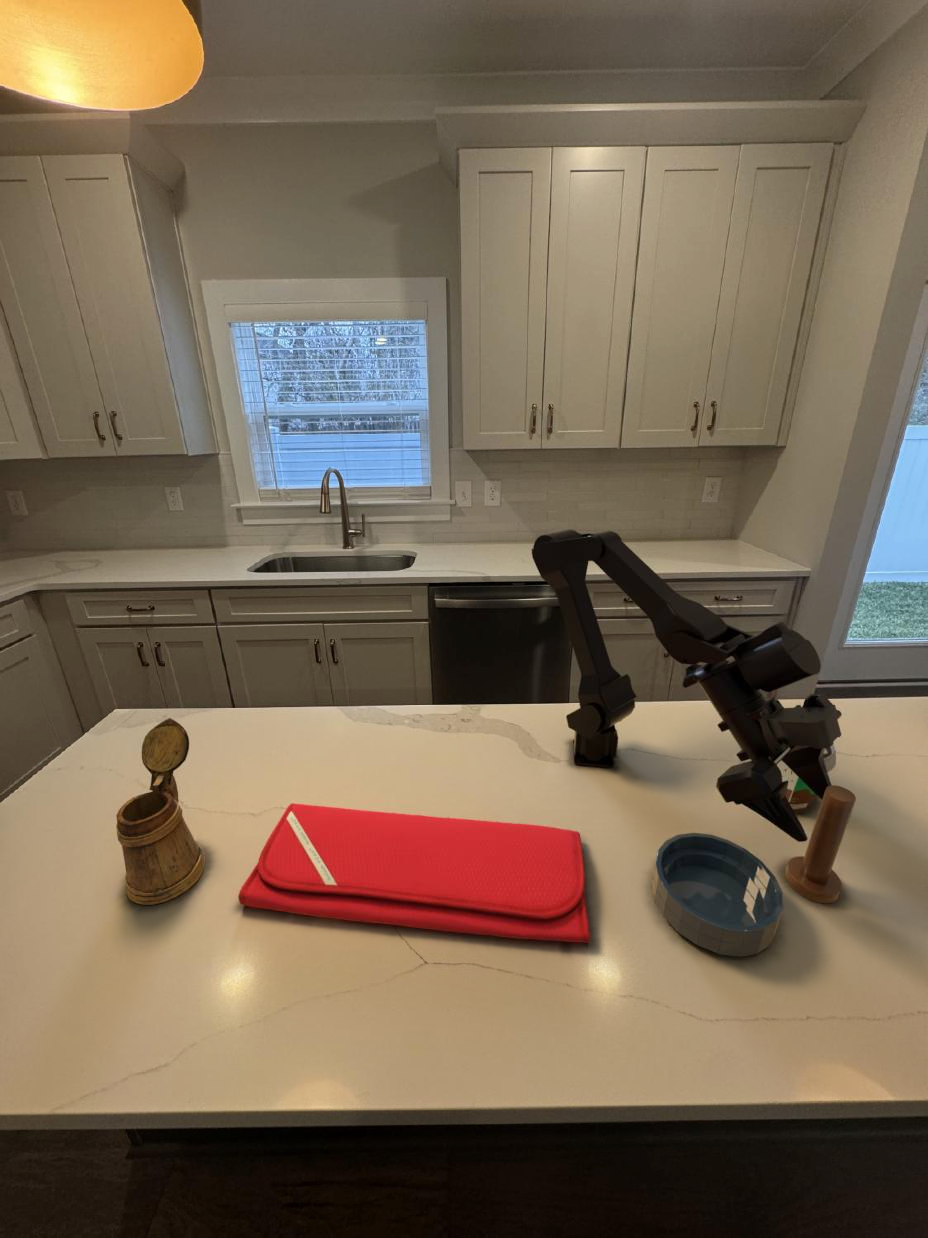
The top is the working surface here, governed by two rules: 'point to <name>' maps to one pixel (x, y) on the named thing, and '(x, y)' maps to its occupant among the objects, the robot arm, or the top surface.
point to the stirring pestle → (822, 849)
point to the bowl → (717, 894)
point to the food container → (797, 789)
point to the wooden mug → (159, 825)
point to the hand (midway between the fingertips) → (818, 821)
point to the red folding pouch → (424, 873)
